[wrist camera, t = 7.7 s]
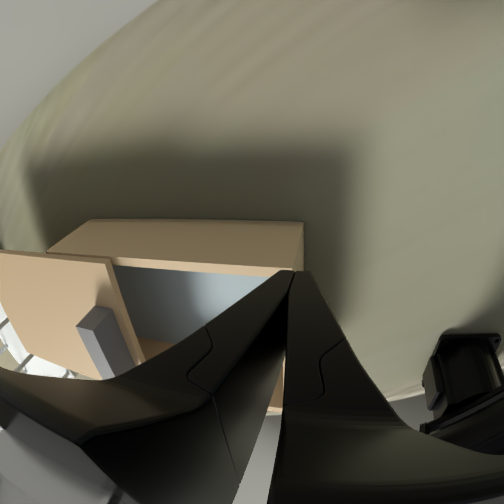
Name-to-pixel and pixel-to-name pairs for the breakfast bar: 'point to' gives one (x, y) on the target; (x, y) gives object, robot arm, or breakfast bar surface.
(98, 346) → the lid
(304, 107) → the breakfast bar surface
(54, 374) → the file sorter
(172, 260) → the box
